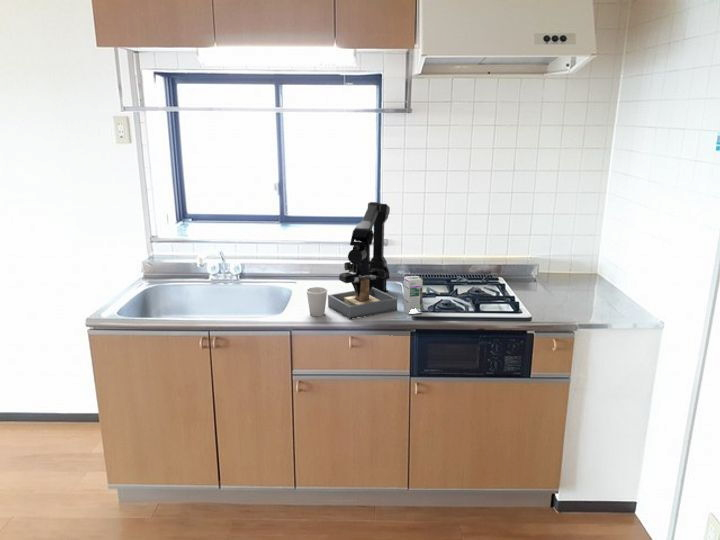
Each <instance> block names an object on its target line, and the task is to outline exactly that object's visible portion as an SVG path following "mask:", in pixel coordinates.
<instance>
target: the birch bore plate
mask: <svg viewBox="0 0 720 540" xmlns="http://www.w3.org/2000/svg"><path fill="white" fill-rule="evenodd" d="M377 301H381V300H379V299H377V298H375V297H373V296H371V295H369V301H363V302H359V301H357V300H356V296H350V297H345V298H344V303H346V304H348V305H350V306H355V305H360V304H366V303H371V302H377Z"/></svg>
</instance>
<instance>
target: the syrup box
mask: <svg viewBox="0 0 720 540" xmlns="http://www.w3.org/2000/svg"><path fill="white" fill-rule="evenodd" d="M423 281H424V280H423V278H422V277H420V276H418V275H414V276H412V275H411V276H404V277H403V311H404V313H406V315H408V314H409V312H410V310H411V309H415V308H416V309H423V286H424V285H423Z"/></svg>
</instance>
